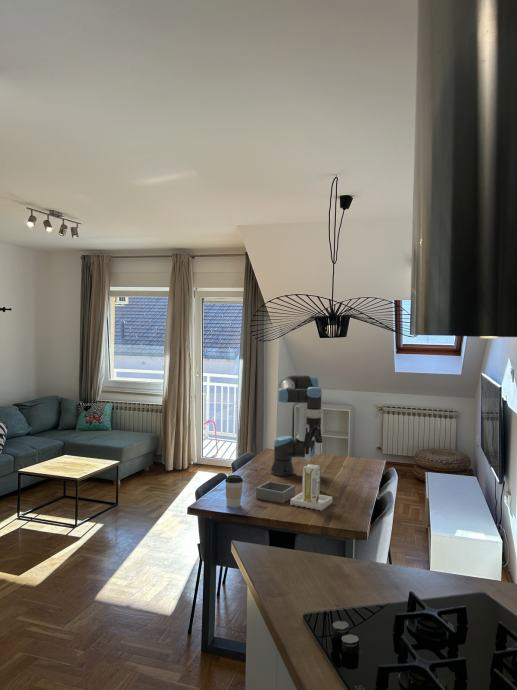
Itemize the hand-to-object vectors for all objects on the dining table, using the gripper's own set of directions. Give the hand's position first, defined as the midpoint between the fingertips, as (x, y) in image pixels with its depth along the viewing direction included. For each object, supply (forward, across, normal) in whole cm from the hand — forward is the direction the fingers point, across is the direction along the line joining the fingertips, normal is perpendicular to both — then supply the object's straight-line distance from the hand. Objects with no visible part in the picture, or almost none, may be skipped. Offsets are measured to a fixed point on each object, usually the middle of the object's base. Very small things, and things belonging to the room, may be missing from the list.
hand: (312, 457), depth 255 cm
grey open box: (+24, 0, +21) cm, 32 cm away
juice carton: (+23, -2, 0) cm, 23 cm away
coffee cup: (+24, -24, +33) cm, 47 cm away
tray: (+24, 0, 0) cm, 24 cm away
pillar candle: (+24, +22, +9) cm, 34 cm away
